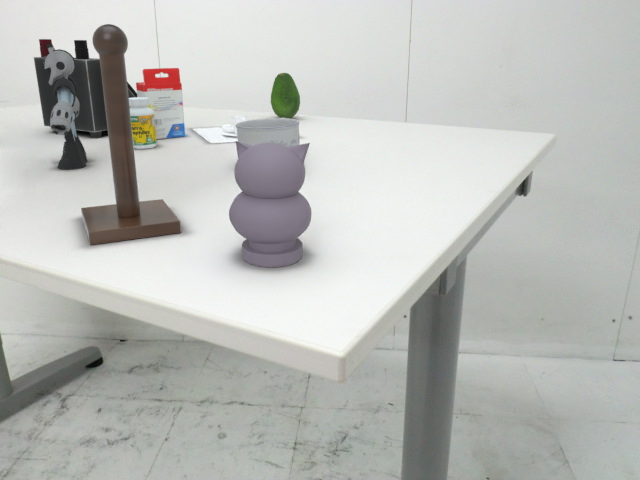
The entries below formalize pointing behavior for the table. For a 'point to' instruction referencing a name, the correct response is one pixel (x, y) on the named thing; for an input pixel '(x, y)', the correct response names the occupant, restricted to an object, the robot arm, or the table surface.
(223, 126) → the teacup and saucer
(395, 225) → the table surface
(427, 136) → the table surface
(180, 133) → the ink box
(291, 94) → the fruit
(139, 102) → the supplement bottle
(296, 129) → the teacup
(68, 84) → the robot
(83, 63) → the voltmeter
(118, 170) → the stand
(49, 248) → the table surface
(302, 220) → the cat figurine
